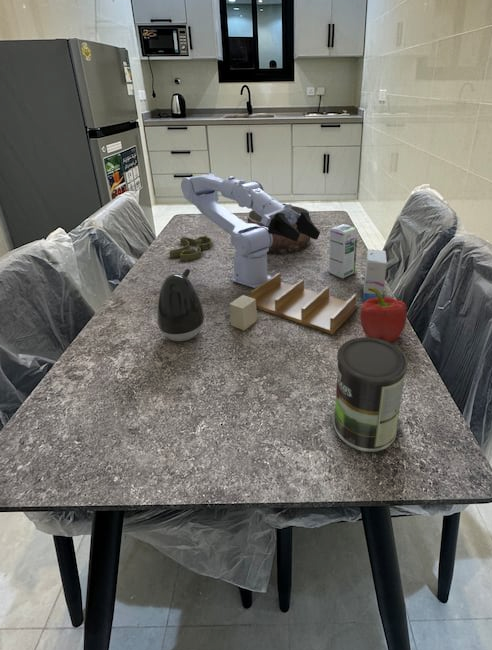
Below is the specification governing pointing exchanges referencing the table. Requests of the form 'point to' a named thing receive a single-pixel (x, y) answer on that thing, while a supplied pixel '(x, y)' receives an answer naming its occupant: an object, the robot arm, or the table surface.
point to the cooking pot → (280, 242)
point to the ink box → (375, 273)
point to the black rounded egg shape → (179, 308)
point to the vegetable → (383, 317)
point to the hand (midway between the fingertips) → (308, 236)
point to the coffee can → (368, 393)
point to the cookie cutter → (189, 253)
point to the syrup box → (342, 250)
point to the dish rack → (303, 304)
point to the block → (243, 312)
